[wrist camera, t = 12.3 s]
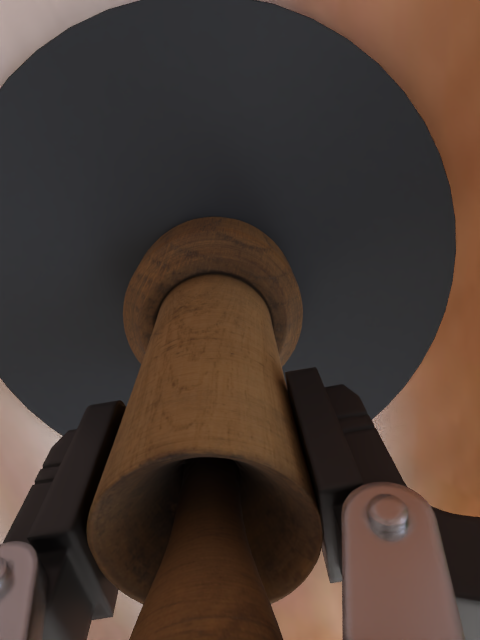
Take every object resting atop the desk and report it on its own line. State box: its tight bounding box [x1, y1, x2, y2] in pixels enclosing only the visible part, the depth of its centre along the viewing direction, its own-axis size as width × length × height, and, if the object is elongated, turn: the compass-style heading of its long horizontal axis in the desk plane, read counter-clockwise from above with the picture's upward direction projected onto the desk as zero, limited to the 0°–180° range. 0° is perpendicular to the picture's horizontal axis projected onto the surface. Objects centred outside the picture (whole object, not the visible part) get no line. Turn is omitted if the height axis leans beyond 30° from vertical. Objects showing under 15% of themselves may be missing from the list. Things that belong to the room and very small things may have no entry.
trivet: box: [0, 0, 456, 436], centre depth 17 cm, size 20×20×1 cm
